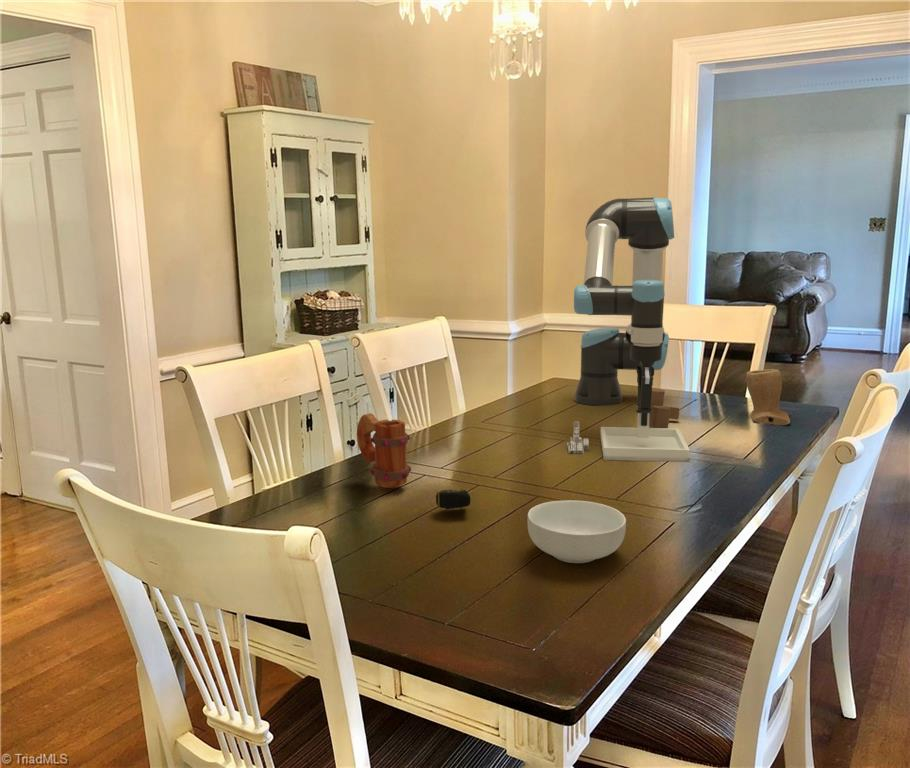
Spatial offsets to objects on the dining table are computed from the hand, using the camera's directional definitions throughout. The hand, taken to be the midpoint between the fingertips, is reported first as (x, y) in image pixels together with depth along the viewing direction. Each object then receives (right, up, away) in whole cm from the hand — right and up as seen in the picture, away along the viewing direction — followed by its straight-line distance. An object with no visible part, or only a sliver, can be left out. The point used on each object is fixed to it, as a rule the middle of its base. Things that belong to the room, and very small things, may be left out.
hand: (642, 437), depth 196 cm
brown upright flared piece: (+41, +2, +27) cm, 49 cm away
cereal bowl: (-26, -16, -61) cm, 68 cm away
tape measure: (-44, -12, -41) cm, 62 cm away
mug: (-63, -9, -22) cm, 67 cm away
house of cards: (-14, -4, +1) cm, 15 cm away
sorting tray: (0, -3, +1) cm, 3 cm away
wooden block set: (+10, +1, +21) cm, 23 cm away
